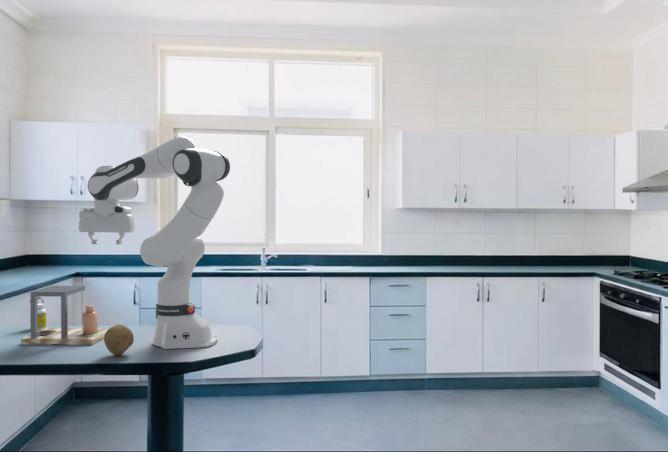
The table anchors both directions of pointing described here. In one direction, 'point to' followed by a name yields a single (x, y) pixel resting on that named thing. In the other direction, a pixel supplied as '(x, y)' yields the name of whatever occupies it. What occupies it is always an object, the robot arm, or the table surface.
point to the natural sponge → (118, 339)
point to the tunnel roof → (63, 293)
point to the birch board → (74, 338)
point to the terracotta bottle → (89, 321)
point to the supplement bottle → (41, 316)
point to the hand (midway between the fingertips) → (106, 244)
